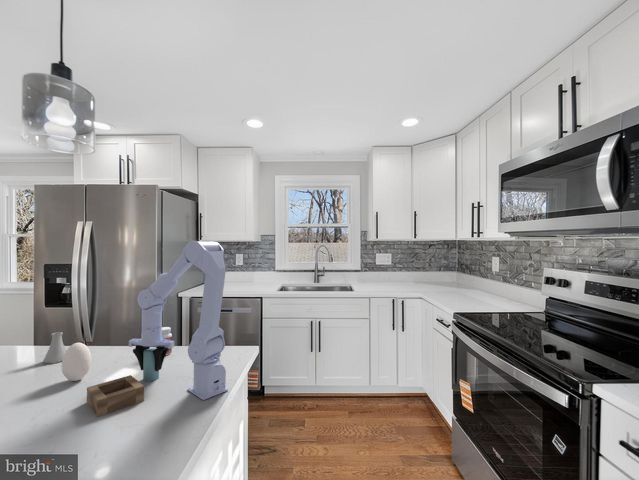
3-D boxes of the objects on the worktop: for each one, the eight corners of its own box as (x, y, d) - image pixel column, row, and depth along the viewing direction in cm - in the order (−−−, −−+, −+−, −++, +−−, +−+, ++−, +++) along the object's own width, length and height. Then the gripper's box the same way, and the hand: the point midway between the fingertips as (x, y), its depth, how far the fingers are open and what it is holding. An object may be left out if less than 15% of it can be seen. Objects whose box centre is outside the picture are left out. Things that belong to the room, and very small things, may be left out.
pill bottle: (167, 356, 117) (167, 330, 118) (152, 356, 118) (152, 330, 118) (174, 351, 123) (174, 326, 123) (160, 351, 123) (160, 326, 123)
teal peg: (161, 378, 98) (161, 350, 99) (146, 383, 95) (146, 353, 95) (155, 374, 101) (155, 347, 101) (140, 379, 98) (141, 350, 98)
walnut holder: (144, 400, 84) (144, 386, 84) (97, 416, 76) (97, 400, 76) (130, 388, 91) (130, 375, 91) (86, 402, 83) (87, 387, 83)
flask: (38, 362, 111) (38, 335, 111) (60, 356, 117) (60, 329, 118) (52, 365, 108) (52, 336, 109) (74, 358, 115) (74, 331, 116)
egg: (69, 376, 99) (69, 340, 99) (95, 374, 101) (96, 338, 101) (55, 387, 92) (56, 347, 92) (84, 384, 94) (85, 345, 94)
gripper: (180, 324, 102) (179, 365, 101) (139, 322, 103) (139, 363, 103) (167, 330, 95) (166, 374, 94) (123, 328, 96) (123, 372, 96)
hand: (151, 369), depth 98 cm, fingers closed on teal peg, 4 cm apart
